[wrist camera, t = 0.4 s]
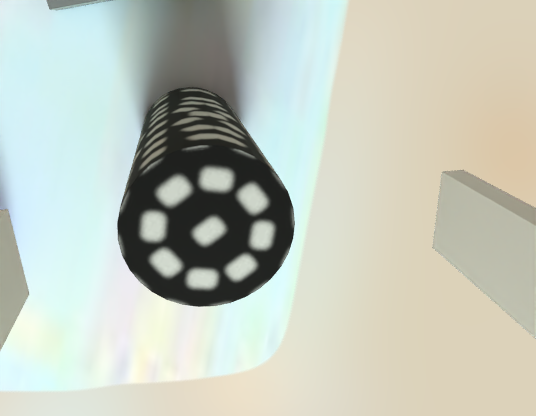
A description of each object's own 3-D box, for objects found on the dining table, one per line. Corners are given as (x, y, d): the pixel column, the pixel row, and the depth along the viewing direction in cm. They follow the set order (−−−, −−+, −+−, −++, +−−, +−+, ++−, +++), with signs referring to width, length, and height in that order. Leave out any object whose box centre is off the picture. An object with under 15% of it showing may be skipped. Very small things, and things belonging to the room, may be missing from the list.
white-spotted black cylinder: (200, 66, 39) (226, 106, 20) (258, 145, 42) (325, 240, 24) (121, 127, 39) (76, 220, 21) (184, 200, 42) (194, 335, 24)
